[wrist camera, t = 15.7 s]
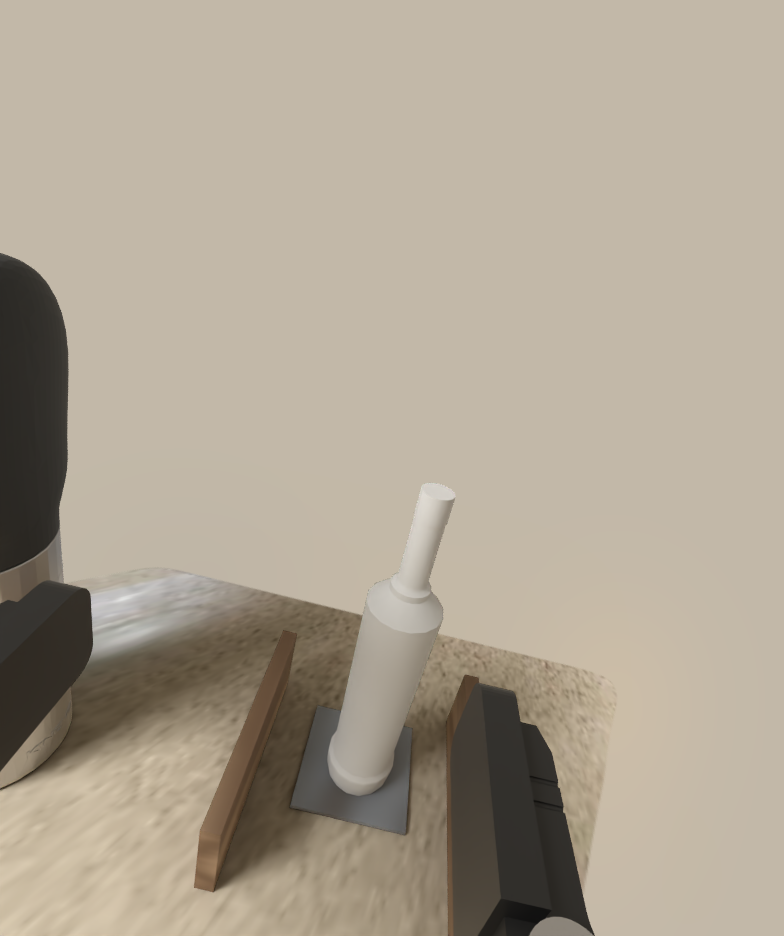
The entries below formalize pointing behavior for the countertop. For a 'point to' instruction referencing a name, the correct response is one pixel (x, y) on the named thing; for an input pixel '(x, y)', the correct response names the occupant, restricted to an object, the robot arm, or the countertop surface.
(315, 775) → the arena
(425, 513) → the bottle
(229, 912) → the countertop surface
